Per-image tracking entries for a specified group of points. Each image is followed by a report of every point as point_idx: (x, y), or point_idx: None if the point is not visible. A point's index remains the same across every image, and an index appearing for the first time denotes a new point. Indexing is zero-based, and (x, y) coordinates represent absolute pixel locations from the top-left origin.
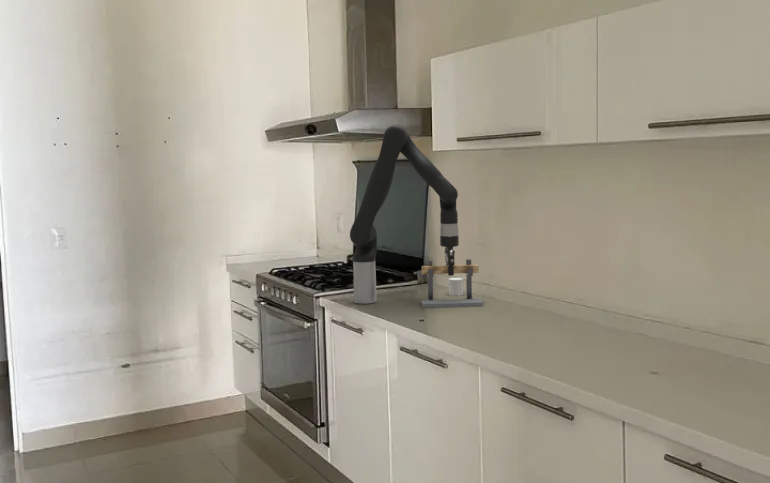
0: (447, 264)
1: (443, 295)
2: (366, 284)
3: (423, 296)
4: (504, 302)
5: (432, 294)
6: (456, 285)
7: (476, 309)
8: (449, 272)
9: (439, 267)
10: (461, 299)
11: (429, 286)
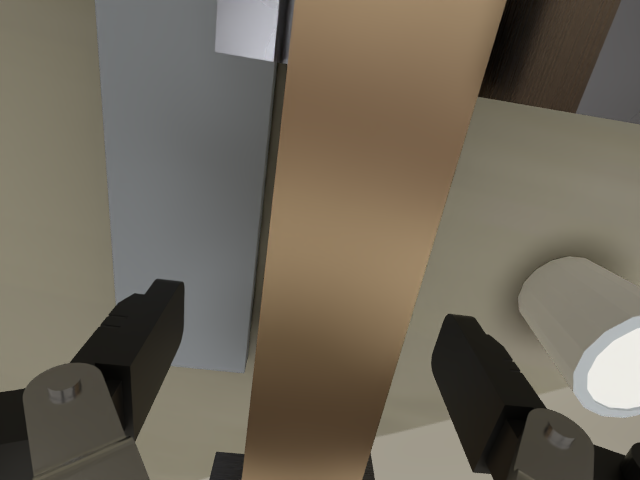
0: (69, 386)
1: (577, 213)
2: None
3: None
4: (223, 449)
5: None
6: (555, 330)
7: (28, 291)
8: (112, 310)
9: (271, 218)
10: (248, 270)
11: None
